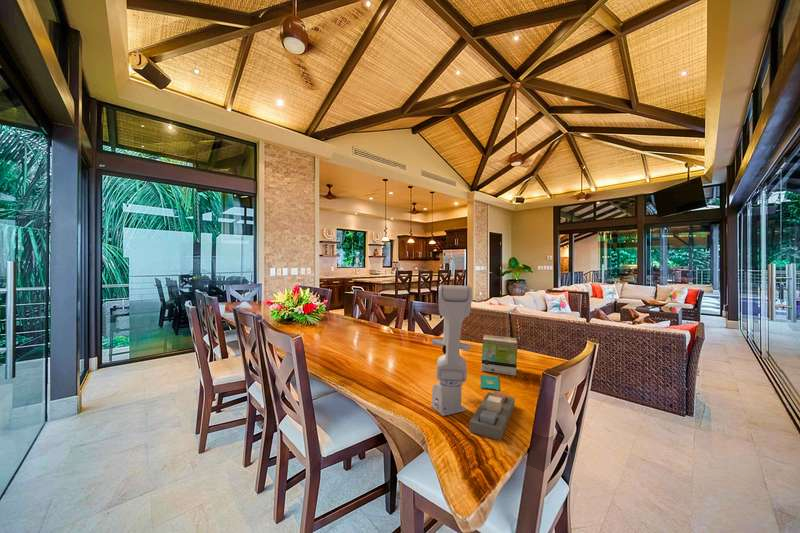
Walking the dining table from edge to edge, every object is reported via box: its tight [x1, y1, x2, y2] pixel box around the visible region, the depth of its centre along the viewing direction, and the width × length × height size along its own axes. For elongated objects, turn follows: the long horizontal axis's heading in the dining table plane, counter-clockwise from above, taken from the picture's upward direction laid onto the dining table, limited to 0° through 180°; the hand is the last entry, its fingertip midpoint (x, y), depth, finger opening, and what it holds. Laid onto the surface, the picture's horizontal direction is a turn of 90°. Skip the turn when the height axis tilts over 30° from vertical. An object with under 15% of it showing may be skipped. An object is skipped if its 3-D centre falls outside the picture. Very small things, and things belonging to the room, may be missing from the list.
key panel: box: [468, 391, 516, 441], centre depth 102 cm, size 24×9×3 cm, turn 152°
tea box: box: [480, 334, 518, 376], centre depth 146 cm, size 15×10×15 cm
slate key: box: [480, 410, 497, 426], centre depth 95 cm, size 4×4×4 cm
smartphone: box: [480, 374, 501, 392], centre depth 131 cm, size 7×1×15 cm
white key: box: [486, 395, 502, 414], centre depth 102 cm, size 4×4×4 cm
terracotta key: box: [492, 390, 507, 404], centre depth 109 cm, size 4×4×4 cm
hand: (450, 366), depth 122 cm, fingers closed
